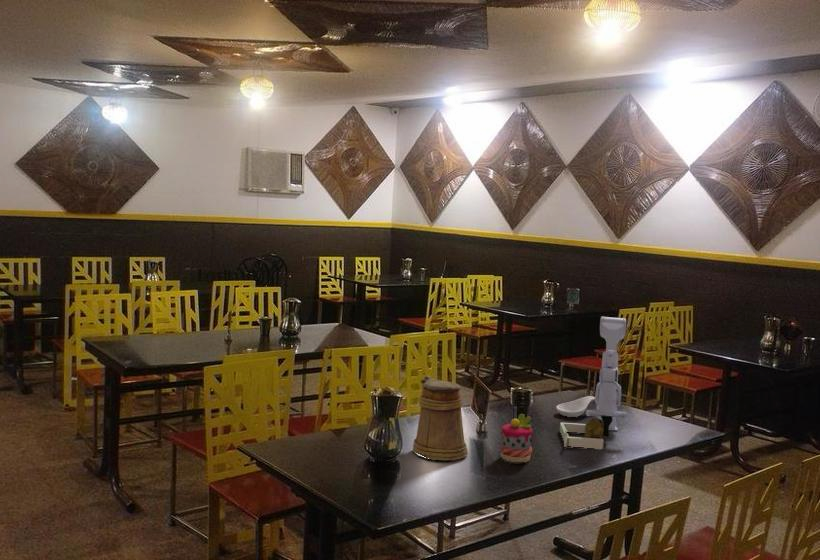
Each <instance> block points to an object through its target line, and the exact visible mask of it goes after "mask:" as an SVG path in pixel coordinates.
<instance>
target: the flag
mask: <svg viewBox="0 0 820 560" xmlns="http://www.w3.org/2000/svg"><path fill="white" fill-rule="evenodd" d="M566 444H567V430H565V440H564V442H563V448H564V447H566ZM566 448H567V447H566Z"/></svg>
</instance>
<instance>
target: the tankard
mask: <svg viewBox="0 0 820 560" xmlns="http://www.w3.org/2000/svg"><path fill="white" fill-rule="evenodd" d="M420 383H421V384H422V387H421V395H420V398H419V402H418V406H419V407H420V411H419V419H418V425H417V429H416V430H417V431H416V438H415V439H414V440H413V444H412V451H413V450H414V451H415V452H416V453H418V454H420V455H422V456H424V457H426V458H429V459H433V460H432V461H435V460H452V461H457V459H458V460H461V458H462V459H464V458H466V457H467V456H468V454H469V451H468V447H467V443H466V442H465V435H464V434H465V433H464V425H463V416H462V415H463V414H462V413H463V412H462V406H463V399H462V398H463V397H462V395H460V390H461V386H460V384H459V383H456V382H452V381H446V380H440V379H436V378H433V377H432V376H431V375H430V374H426V375H424V378H422V379H421V380H420Z"/></svg>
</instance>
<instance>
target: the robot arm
mask: <svg viewBox="0 0 820 560" xmlns="http://www.w3.org/2000/svg"><path fill="white" fill-rule="evenodd" d="M626 329H627V319H626V317H625V318H624V317H623V318H622V317H609V316H604V315H603V316H600V321H599V335H600V338H603V339H604V340H605V342H606V344H605V346H606V347H605V351H604V352H602V360H601V368H600V370H599V378H598V379H599V382H598V383H597V384H596V388H595V396H594V397H595V400H594V402H595V404H596V405H597V404H598V408H597V410H596V409H586V410H585V414H586V417H596V418H598V419H600V420H602V422H603V425H604V431H603V436H602V437H605V438H607V437H609V434H610V433H609V431H614V430H615V431H619V429H618V427H617V418H623V419H628V413H627V412H626V411H619V410H618V407H620V405H621V403H622V386H621V384H619V383H618V382H619V354H618V344H619V341H620V340H623V339H625V336H626V331H627V330H626Z"/></svg>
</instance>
